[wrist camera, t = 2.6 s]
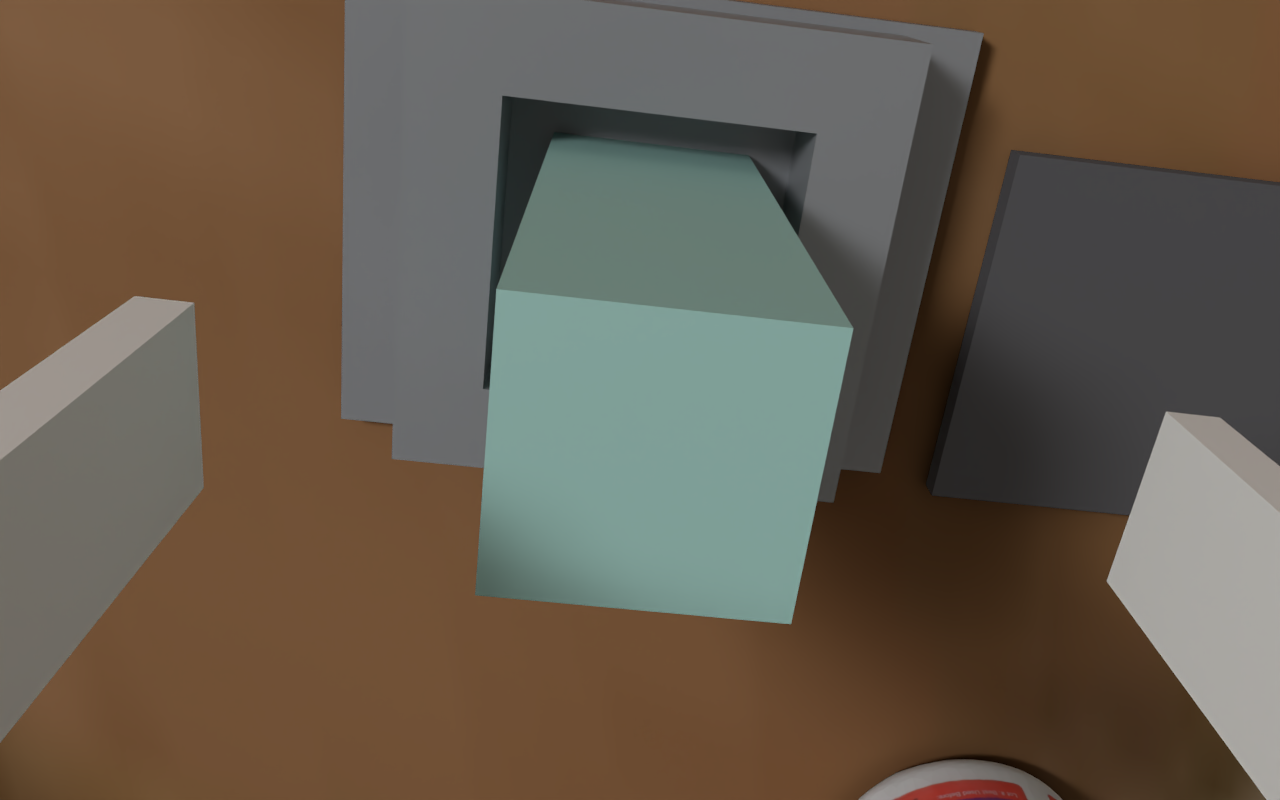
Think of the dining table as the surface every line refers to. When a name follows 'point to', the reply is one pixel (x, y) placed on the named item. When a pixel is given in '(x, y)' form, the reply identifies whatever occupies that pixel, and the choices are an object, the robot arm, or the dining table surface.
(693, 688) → the dining table surface
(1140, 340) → the mat
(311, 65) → the dining table surface
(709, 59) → the grey socket tray
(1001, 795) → the pill bottle
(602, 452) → the plug
